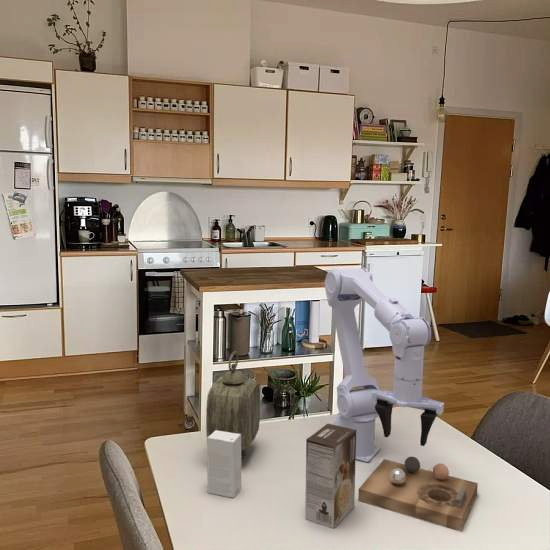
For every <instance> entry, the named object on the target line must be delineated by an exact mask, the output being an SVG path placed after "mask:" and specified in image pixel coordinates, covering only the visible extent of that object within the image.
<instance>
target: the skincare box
mask: <svg viewBox="0 0 550 550" xmlns="http://www.w3.org/2000/svg"><path fill="white" fill-rule="evenodd" d="M206 449H207V450H206V453H207V455H206V456H207V457H206V459H207V463H206V464H207V466H206V467H207V471H206V472H207V493H208V494H213V495H217V496H222V497H228V498H235V497H236V496H237V495H238V493H239V492H240V491H241V489H242V457H241V434H237V433H230V432H224V431H217V430H215V431H214V432H213V433H212V434H211V435H210V436H209V437H207V436H206Z"/></svg>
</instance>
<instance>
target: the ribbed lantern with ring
mask: <svg viewBox="0 0 550 550" xmlns="http://www.w3.org/2000/svg"><path fill="white" fill-rule="evenodd" d="M234 356H236V359H235V363H232V360H233V357H234ZM238 363H239V353H238V351H237V350H234V351H232V352H231V353H230V356H229V360H228V371H227V372H226V373H224V375H222V376H220V377H218V379H217V380H215V382H214V383H213V384H212V386H211V387H210V388H209V391H208V393H207V397H206V399H207V400H206V410H205V411H206V415H205V416H206V417H205V425H206V426H205V428H206V433H205V434H206V438H207V437H209V436H210V435H211V434H212V433H213V432H214V431H215V430H217V431H224V432H230V433H237V434H241V458H245V457H246V456H247V451H246V450H245V449H248V448H249V447H250V446H251V445H252V444H253V442H254V441H255V439H256V436H257V434H258V432H259V430H260V422H261V420H260V419H261V387H260V386H261V385H260V383H259V382H257V381H256V380H254V379H253V378H245V376H244V375H243V373H242V372H241V371H238V370H237V367H238Z"/></svg>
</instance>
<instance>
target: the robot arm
mask: <svg viewBox="0 0 550 550" xmlns="http://www.w3.org/2000/svg"><path fill="white" fill-rule="evenodd" d="M373 281H374V280H373V274H372V273H371V272H370V271H369V270H368V269H367V268H366V267H360V268H348V269H347V268H345V269H335V268H334V269H333V268H332V269H330V270H328V271H327V273H326V276H325V280H324V283H323V284H324V290H325V296H326V298H327V299H326V300H327V305H328V306H329V307H331V310H332V311H331V312H332V315H333V319H334V326H335V331H336V334H337V335H336V336H337V342H338V346H339V352H340V356H341V362H342V363H341V364H342V367H343V372H344V378H343V379H342V380H341V381H340V383H339V384H338V385H337V387H336V394H337V396H336V398H337V399H336V405H337V406H336V407H337V410H338V413H337V414H336V415H335V418H334V421H333V424H332V425H337V426H342V427H346V428H350V429H354V430H357V431H356V459H355V460H357V461H361V462H365V463H369V462H371V460H372V459H373V458H374V457H375V456H376V455H377V454H378V452H379V451H380V450H381V449H380V447H378V446H375V439H376V438H375V433H376V419H378V418H379V421H380V423H381V426H382V429H383V437H384V438H388V437H389V436H390V435H391V434H392V433H391V431H392V413H393V407H394V406H393V405H396V406H397V407H398V406H399V407H402V408H411V409H416V410H420V411H421V410H422V411H423V412H422V413H421V414H420V428H421V430H420V432H421V433H420V443H419V444H420V445H419V446H421V447H425V446H426V444H427V442H428V437H429V434H430V431H431V428H432V426H433V424H434V422H435V420H436V418H437V416H439V415H442V414H443V413H444V409H445V406H444V405H445V402H441V401H438V400H435V399H432V398H428V397H426V396H422V394H423V377H424V356H425V346H427V345H428V344H429V343H430V341H431V339H432V329H431V326H430V324H429V322H428V321H427V320H426V318H425V317H422V316H421V317H418V316H416V315H415V316H414V315H412V314H411V312H410V311H408V310H407V309H406V308H405V307H404V306H402V304H400V302H399V300H398V299H397V298H396V297H386V296H385V295H384V294H383V292H382V291H381V290H380V289H379V288H378V287H377V285H376V284H375V283H374V282H373ZM362 301H364V302H365V303H367V304H368V305H369V306H370V307H371V308H372V309H374V317H375V319H376V320H377V321H378V322H380V324H381V325H382V326H383V327H384V328H385V329H386V330H387V331H388V333H389V339H390V342H391V345H392V349H391V350H392V354H393V355H394V363H393V366H394V369H393V370H394V371H393V386H392V387H393V388H392V390H390V391H389V390H380V387H379V384H378V381H377V379H375V378H374V377H372V376H371V375H369V374H368V371H367V368H366V362H365V359H364V353H363V348H362V343H361V338H360V333H359V327H358V323H357V318H356V312H355V309H356V307H357V306H358V305H359V304H361V303H362ZM357 388H358V389H357Z"/></svg>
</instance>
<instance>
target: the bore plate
mask: <svg viewBox="0 0 550 550" xmlns="http://www.w3.org/2000/svg"><path fill="white" fill-rule="evenodd" d="M395 468H400V469H402V470H403V471H404V472H405V475H406V479H405V482H404V483H403V484H401V485H396V484H394V483H393V482H392V481H391V479H390V472H391V471H392V470H393V469H395ZM478 485H479V483H478V482H475V481H471V480H468V479H463V478H459V477H455V476H452V475H448V477H447V478H446V479H444V480H439V479H437V478H436V477H435V476H434V474H433V470H428V469H424V468H419V470H418V471H416V472H409V471H408V470H407V469H406V468H405V463H401V462H396V461H392V460H389V459H387V458H386V459H385V458H383V460H382V461H381V462H380V463H379V464H378V465H377V466H376V468H375V469H374V470H373V472H372V473H371V474H369V476H368V477H367V478H366V480H364V482H363V483H362V484H361V485H360V487H359V488H358V498H357V499H358V501H359V502H362V503H366V504H368V505H373V506H376V507H379V508H381V509H386V510H389V511H392V512H396V513H398V514H402V515H405V516H408V517H411V518H415V519H419V520H422V521H424V522H425V521H426V522H429V523H432V524H435V525H438V526H440V527H445V528H449V529H452V530H455V531H458V532H462V530H463V527H464V525H465V523H466V520H467V518H468V516H469V515H470V511H471V509H472V507H473V505H474V502H475V500H476V498H477V495H478Z"/></svg>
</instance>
